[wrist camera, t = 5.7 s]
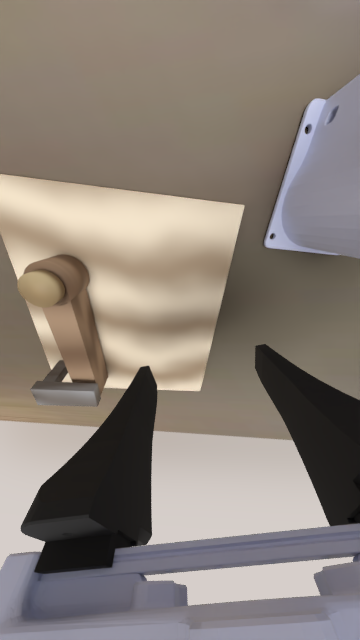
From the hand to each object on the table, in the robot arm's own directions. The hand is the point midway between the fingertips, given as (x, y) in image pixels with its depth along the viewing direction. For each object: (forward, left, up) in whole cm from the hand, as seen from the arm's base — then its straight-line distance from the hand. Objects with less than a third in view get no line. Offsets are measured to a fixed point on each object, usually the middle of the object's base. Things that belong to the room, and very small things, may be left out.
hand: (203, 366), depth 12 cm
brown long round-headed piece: (+3, -12, -8) cm, 14 cm away
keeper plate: (+2, -7, -9) cm, 12 cm away
